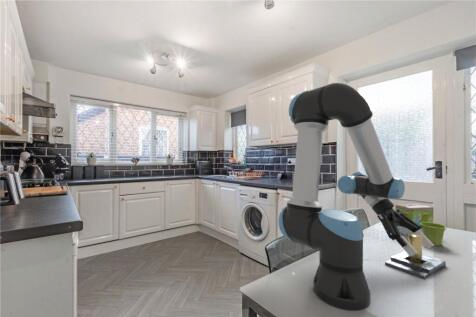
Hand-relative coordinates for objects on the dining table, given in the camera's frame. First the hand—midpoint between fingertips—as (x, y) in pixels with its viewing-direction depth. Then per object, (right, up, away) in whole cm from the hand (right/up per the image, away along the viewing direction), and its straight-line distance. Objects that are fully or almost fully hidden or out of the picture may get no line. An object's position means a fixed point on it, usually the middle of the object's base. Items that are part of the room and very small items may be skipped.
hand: (422, 250), depth 81 cm
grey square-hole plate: (-3, -6, +1) cm, 7 cm away
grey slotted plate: (+1, -6, +3) cm, 7 cm away
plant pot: (+25, -7, +24) cm, 36 cm away
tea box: (+29, -7, +40) cm, 50 cm away
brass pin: (-1, -6, +2) cm, 7 cm away
